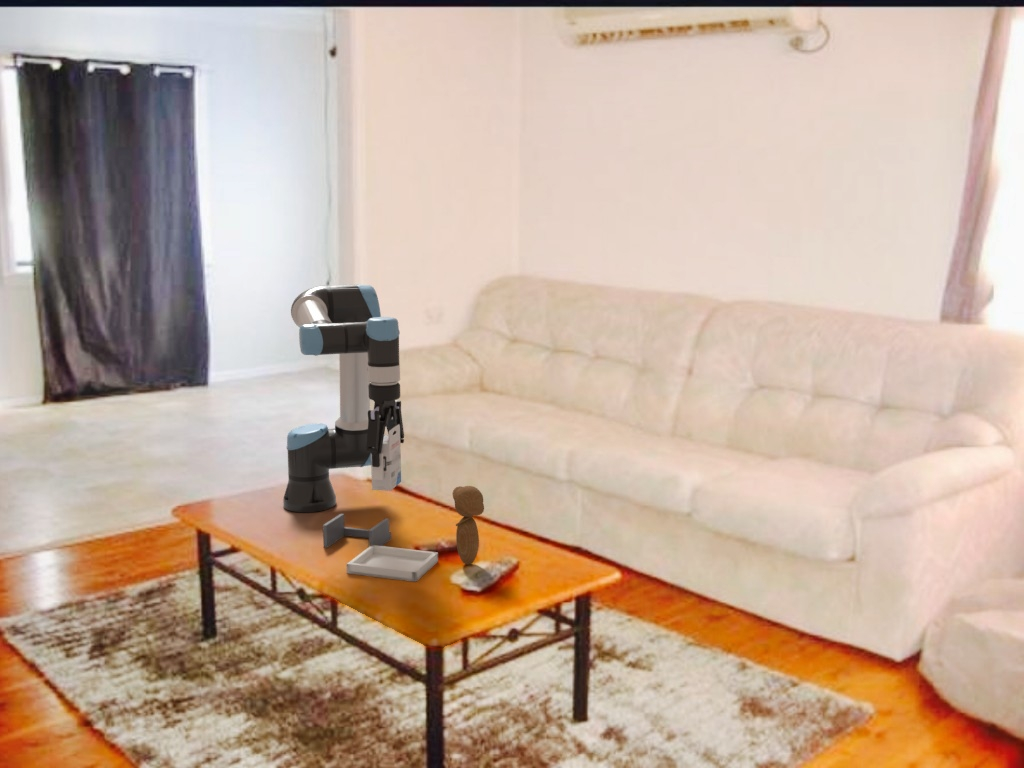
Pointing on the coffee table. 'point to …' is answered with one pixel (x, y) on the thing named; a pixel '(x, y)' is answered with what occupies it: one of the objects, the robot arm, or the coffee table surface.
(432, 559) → the tray
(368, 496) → the coffee table surface
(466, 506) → the figurine
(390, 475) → the ink box
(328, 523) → the bay
